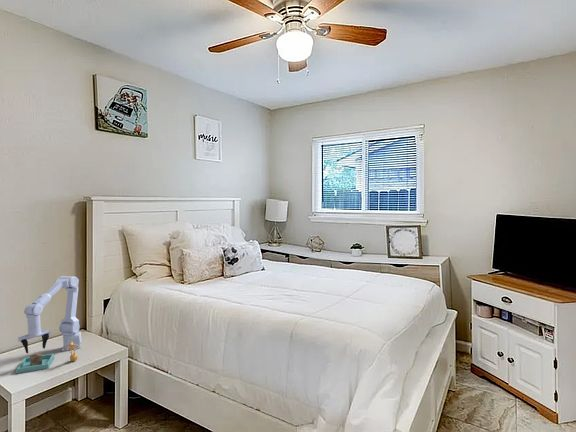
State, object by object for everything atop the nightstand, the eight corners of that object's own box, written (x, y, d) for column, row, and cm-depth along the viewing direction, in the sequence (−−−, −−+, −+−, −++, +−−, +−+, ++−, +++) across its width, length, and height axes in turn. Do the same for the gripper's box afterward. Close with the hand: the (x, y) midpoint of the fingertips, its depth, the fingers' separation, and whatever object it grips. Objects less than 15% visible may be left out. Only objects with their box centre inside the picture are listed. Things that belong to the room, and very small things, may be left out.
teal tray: (54, 357, 204) (54, 353, 204) (48, 368, 191) (48, 364, 191) (25, 362, 199) (24, 357, 199) (16, 373, 186) (16, 369, 186)
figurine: (83, 358, 203) (82, 338, 202) (79, 363, 197) (78, 342, 196) (67, 359, 201) (66, 339, 201) (62, 364, 195) (61, 343, 195)
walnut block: (39, 361, 198) (39, 353, 198) (42, 364, 195) (41, 355, 195) (30, 364, 195) (29, 355, 195) (32, 367, 192) (31, 358, 192)
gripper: (47, 320, 202) (49, 344, 203) (16, 327, 191) (17, 352, 192) (51, 323, 197) (52, 347, 198) (19, 331, 186) (20, 356, 187)
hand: (35, 350), depth 195 cm, fingers open, 7 cm apart
